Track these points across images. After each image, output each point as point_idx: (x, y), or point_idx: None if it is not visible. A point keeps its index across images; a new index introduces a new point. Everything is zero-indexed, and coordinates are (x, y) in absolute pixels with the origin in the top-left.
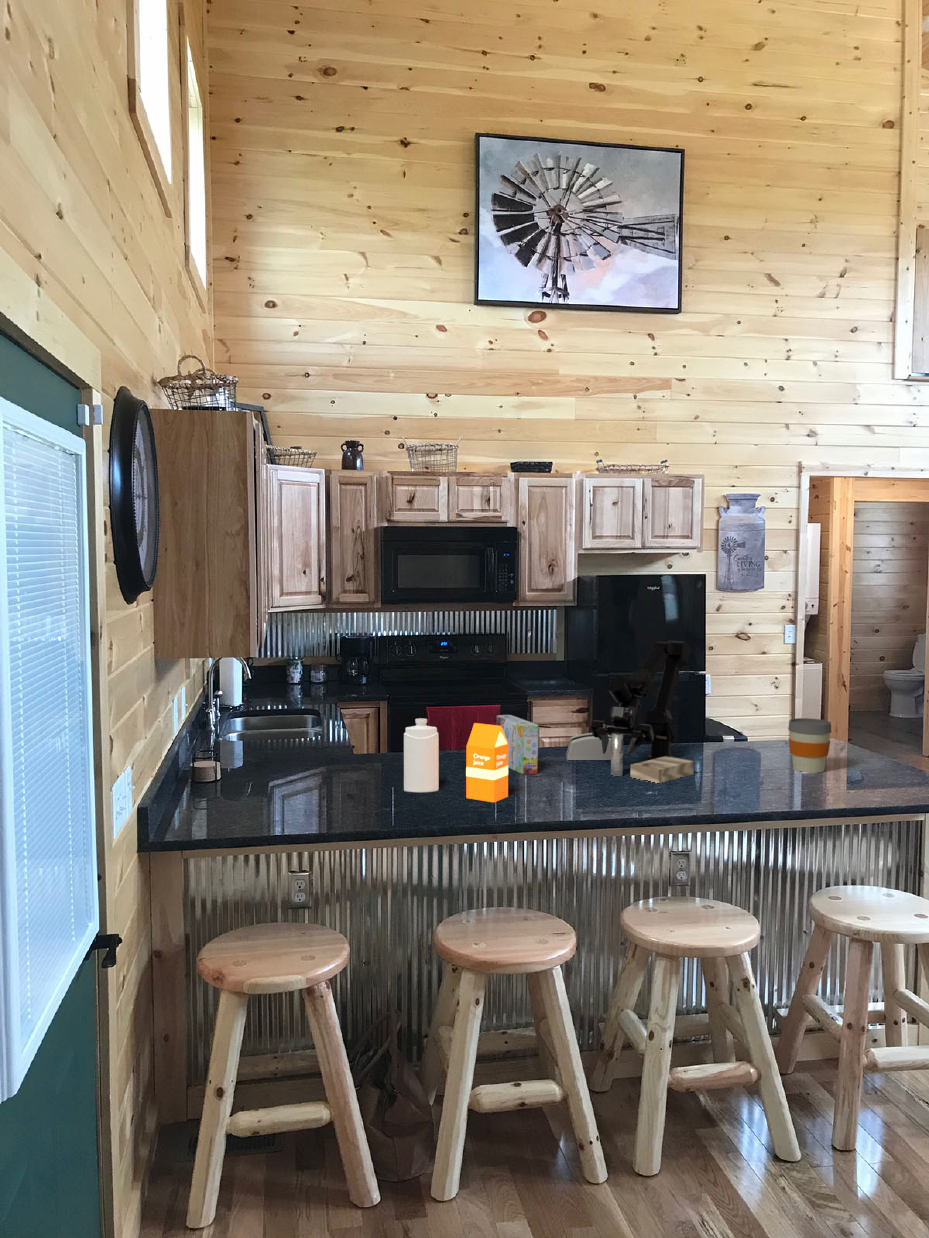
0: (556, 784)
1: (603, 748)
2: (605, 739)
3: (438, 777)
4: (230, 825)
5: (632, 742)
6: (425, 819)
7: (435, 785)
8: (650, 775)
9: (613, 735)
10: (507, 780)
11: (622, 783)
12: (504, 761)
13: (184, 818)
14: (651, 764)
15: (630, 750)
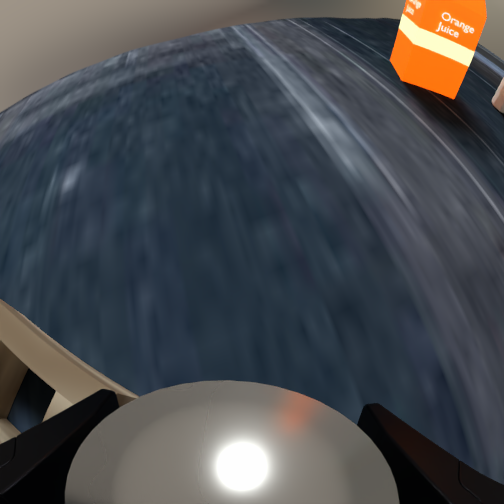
0: (399, 170)
1: (390, 421)
2: (439, 500)
3: (501, 90)
4: None
5: (11, 455)
6: (390, 29)
7: (495, 96)
8: (32, 326)
9: (299, 394)
10: (410, 52)
11: (167, 266)
12: (416, 14)
13: (496, 56)
14: None
15: (71, 412)
